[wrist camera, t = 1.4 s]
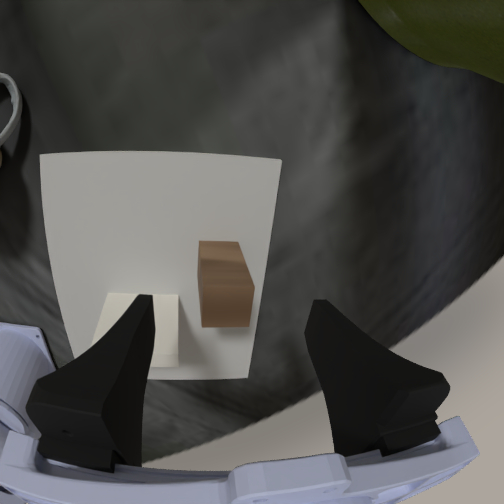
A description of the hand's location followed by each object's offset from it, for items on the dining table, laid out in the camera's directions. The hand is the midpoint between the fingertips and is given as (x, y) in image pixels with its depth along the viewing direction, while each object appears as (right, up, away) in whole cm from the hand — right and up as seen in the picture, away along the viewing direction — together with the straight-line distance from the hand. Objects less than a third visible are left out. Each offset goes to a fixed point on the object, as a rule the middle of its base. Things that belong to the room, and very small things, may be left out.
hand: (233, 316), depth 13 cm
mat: (-7, 0, +11) cm, 13 cm away
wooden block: (-2, +2, +11) cm, 11 cm away
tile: (-8, -1, +11) cm, 14 cm away
